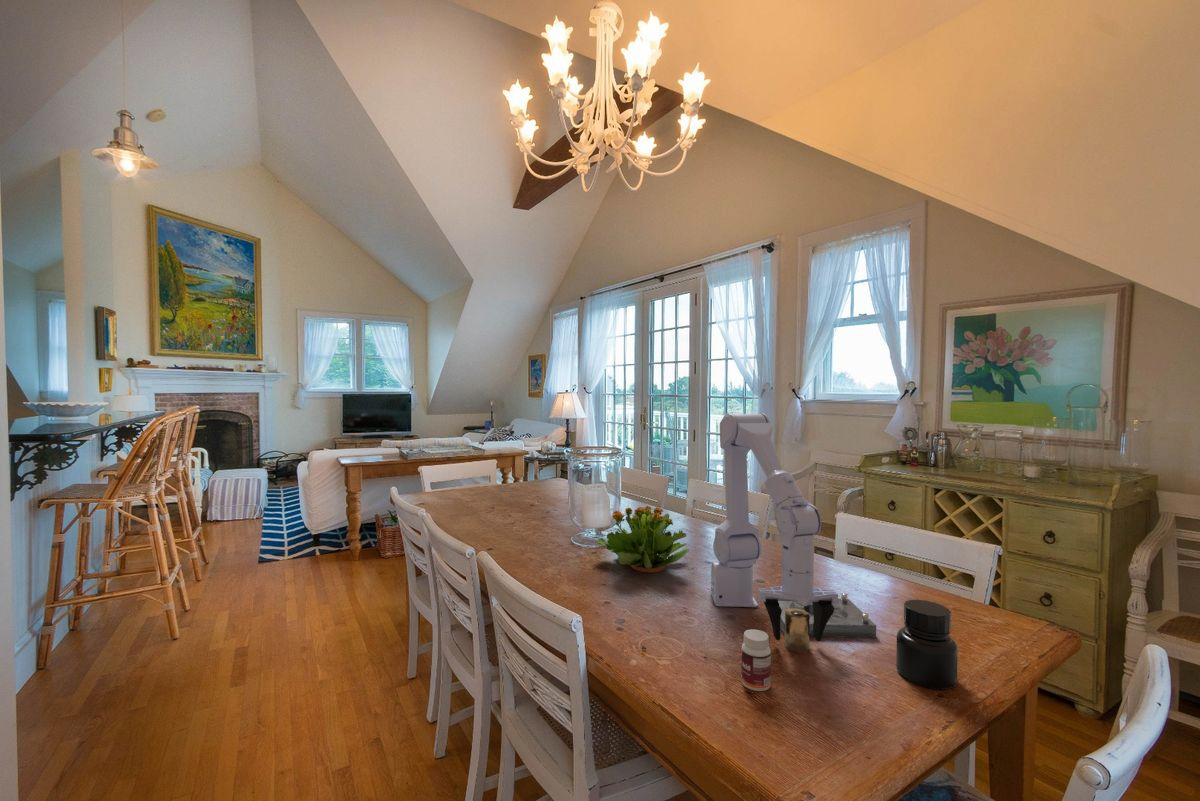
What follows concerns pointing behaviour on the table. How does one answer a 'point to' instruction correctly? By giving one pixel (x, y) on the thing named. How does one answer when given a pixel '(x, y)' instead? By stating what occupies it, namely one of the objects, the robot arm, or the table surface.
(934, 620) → the ink bottle
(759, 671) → the pill bottle
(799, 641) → the bushing
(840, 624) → the jig
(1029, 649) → the table surface
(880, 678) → the table surface
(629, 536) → the potted flower
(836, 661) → the table surface
